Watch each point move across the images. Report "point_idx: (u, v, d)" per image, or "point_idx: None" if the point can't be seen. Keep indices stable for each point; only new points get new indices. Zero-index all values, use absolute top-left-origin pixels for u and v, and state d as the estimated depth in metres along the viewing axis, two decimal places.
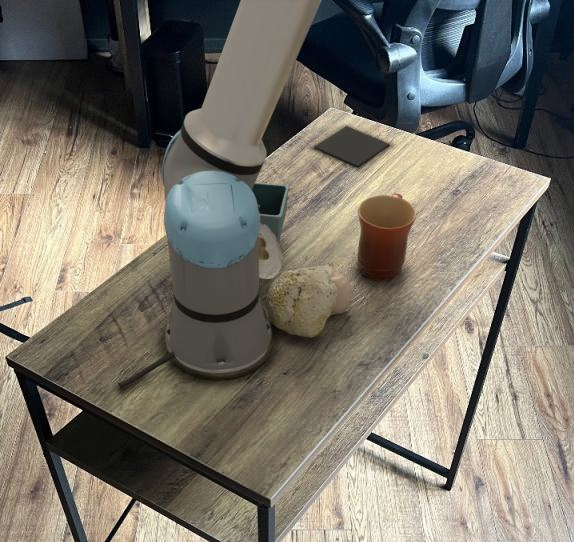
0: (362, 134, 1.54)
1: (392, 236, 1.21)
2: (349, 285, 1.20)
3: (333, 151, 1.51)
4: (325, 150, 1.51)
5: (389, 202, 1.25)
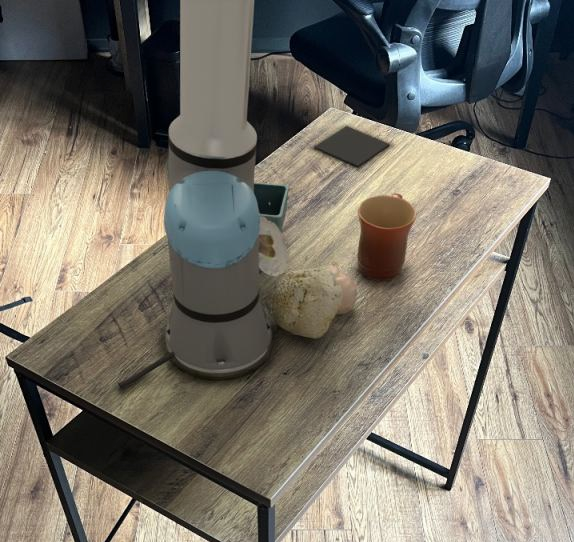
0: (362, 134, 1.54)
1: (392, 236, 1.21)
2: (353, 285, 1.20)
3: (333, 151, 1.51)
4: (325, 150, 1.51)
5: (389, 202, 1.25)
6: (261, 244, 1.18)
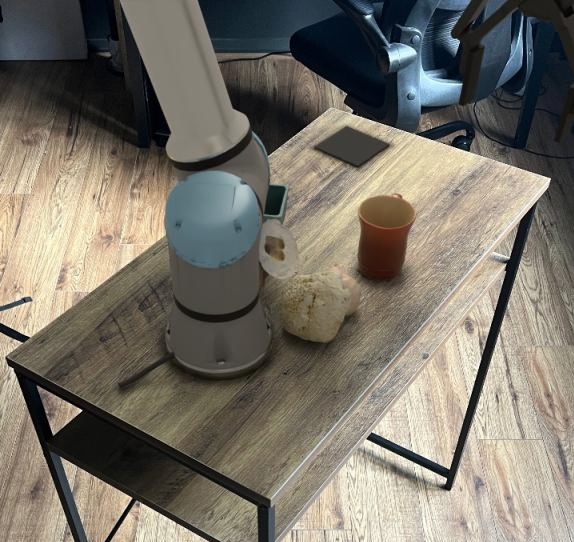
0: (362, 134, 1.54)
1: (392, 236, 1.21)
2: (358, 286, 1.20)
3: (333, 151, 1.51)
4: (325, 150, 1.51)
5: (389, 202, 1.25)
6: (272, 247, 1.18)
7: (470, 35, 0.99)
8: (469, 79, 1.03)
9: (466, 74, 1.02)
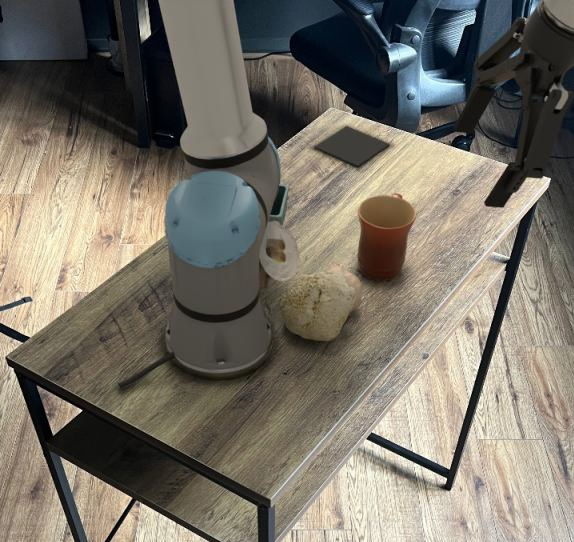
0: (362, 134, 1.54)
1: (392, 236, 1.21)
2: (359, 282, 1.20)
3: (333, 151, 1.51)
4: (325, 150, 1.51)
5: (389, 202, 1.25)
6: (273, 248, 1.18)
7: (483, 73, 1.05)
8: (467, 111, 1.09)
9: (467, 105, 1.09)
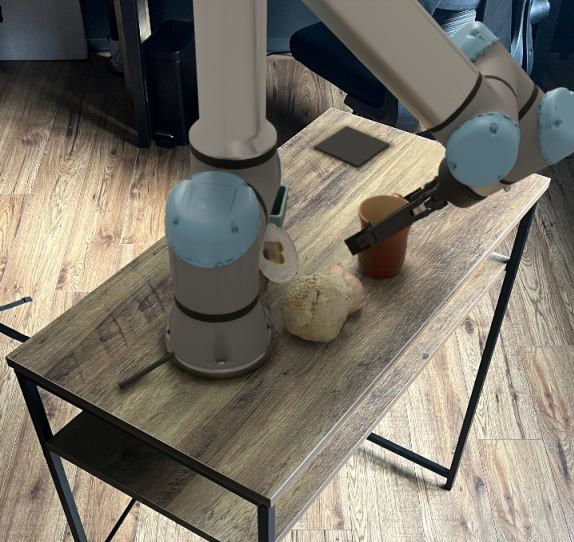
0: (362, 134, 1.54)
1: None
2: (360, 285, 1.20)
3: (333, 151, 1.51)
4: (325, 150, 1.51)
5: (389, 202, 1.25)
6: (271, 251, 1.18)
7: None
8: (404, 198, 1.27)
9: (408, 194, 1.27)
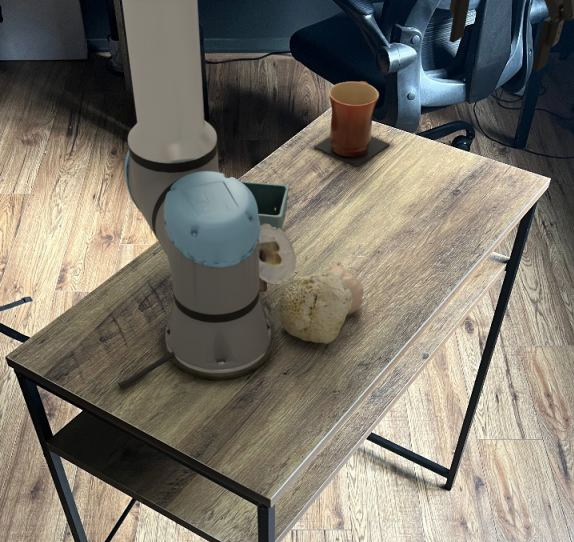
0: None
1: (358, 113, 1.42)
2: (360, 285, 1.20)
3: (333, 151, 1.51)
4: (325, 150, 1.51)
5: (356, 87, 1.46)
6: (268, 251, 1.17)
7: None
8: (458, 17, 1.17)
9: (455, 13, 1.16)
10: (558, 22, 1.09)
